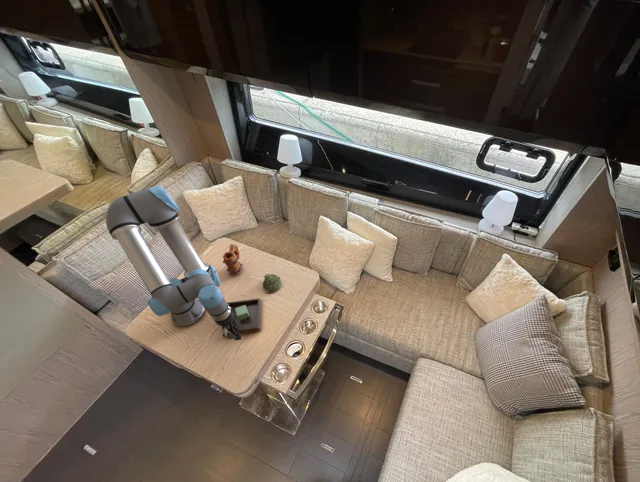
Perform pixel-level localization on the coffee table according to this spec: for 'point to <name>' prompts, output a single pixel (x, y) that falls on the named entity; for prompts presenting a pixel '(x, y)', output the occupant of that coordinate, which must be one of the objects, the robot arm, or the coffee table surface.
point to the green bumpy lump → (271, 282)
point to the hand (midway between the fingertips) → (238, 338)
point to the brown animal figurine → (232, 260)
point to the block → (242, 312)
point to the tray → (254, 315)
